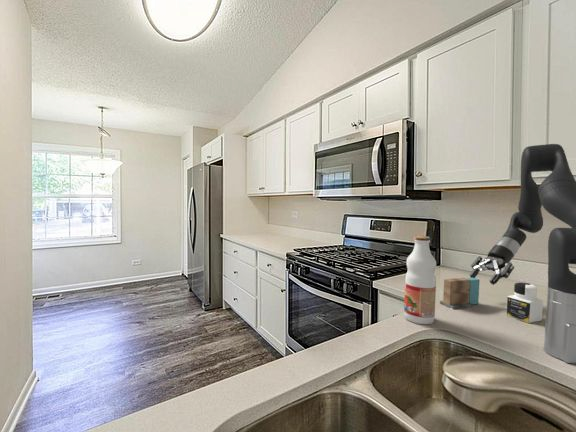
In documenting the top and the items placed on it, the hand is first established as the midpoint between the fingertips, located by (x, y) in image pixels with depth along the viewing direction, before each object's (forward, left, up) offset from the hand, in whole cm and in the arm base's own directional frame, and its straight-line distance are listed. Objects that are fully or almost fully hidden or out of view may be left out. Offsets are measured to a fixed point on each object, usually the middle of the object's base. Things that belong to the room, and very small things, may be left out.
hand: (481, 280), depth 114 cm
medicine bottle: (-14, -8, -9) cm, 18 cm away
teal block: (-2, +4, -9) cm, 10 cm away
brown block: (-6, +11, -9) cm, 15 cm away
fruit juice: (-25, +28, -9) cm, 38 cm away
